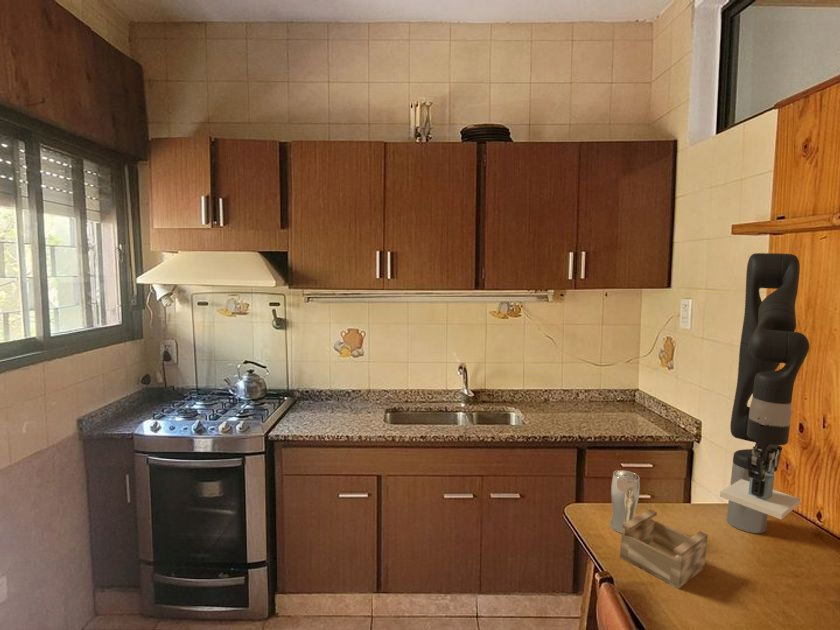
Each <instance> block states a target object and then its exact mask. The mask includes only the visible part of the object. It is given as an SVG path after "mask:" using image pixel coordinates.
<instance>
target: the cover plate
mask: <svg viewBox="0 0 840 630" xmlns="http://www.w3.org/2000/svg"><path fill="white" fill-rule="evenodd" d="M756 474H758V472H756ZM752 481H753V478H750V482H749V481H746V480H743V479H740V480H739V481H737V482H735V483H734V484H732V485H731V486H730V485H729V486H728V487H726V488H724V489H723V490H721V491H720V493H719V497H720V498H722V499H725V500H728V501H729V500H730V501H733V502H736V503H738V504H741V505H744V506H746V507H749V508H752V509H754V510H757V511H760V512H762V513H765V514H768V516H771V517H774V518H776V519H779V520H783V519H784V518H785V517H787V516H788V515H789V514H790V513H792V511H793V510H795V509H796V508H797V507H798V506H799V505H800V504H801V498H799V497H798V496H797V497H796V496H793V495H791V494H787V493H784V492H781V491H779V490H776V489H774V484H775V482H774V481H775V474H774V475H773V474H769V473H767V475H766V481H765V488H764V495H763V496H762V497H758V496H756V495H753V494H752V493H751V490H752Z"/></svg>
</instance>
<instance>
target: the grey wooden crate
mask: <svg viewBox="0 0 840 630" xmlns="http://www.w3.org/2000/svg"><path fill="white" fill-rule="evenodd" d="M657 514H658V513H657V511H654V510H652V509H648V510H646V511H644V512H643V513H641V514H639V515H637V516H636V517H635V516H634V518H633V519H632V520H630V521H628V522H626V523H624V524H623V525H622V533H621V539H620V551H619V558H621V559H622V558H623V560H625V561H626V562H628V563H630V564H632V565H633V566H636V567H638V568H640V569H641V570H644V571H645V572H646V573H648V574H650V575H652V576H655V578H658V579H659V580H661V581H663V582H665V583H667V584H668V585H670V586H673V587H674V588H676V589H680V588H681V587H683V586H684V585H685V584H687V582H688V581H690V580H692V578H695V576H696V575H698V574H699V573H701V571H703V570H704V569H705V565H706V557H707V555H706V554H707V547H708V537H709V536H708V535H709V534H707V533H705V532H702V531H698V532H696V533H695V534H694V535H692V536H689V535H687V534H684V533H683V532H680V531H679V530H676V529H674V528H672V527H670V526H668V525H665V524H663V523H660V522H659V521H656V520H654V519H653V518H654V517H656V516H657Z"/></svg>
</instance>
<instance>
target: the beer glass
mask: <svg viewBox="0 0 840 630" xmlns="http://www.w3.org/2000/svg"><path fill="white" fill-rule="evenodd" d="M640 488H641V487H640V476H639V475H638V474H637V473H634V472H632V471H630V470H624V469H623V470H621V469H616V470H614V471H613V473H612V479H611V487H610V498H611V506H612V516H611V520H610V522H609V527H610V526H611V527H610V528H611V530H613V529H614V530H615V532H616V531H617V533H619V532H620V533H619V534H622V525H623V524H624V523H626V522H628V521H630V520H632V519H633V518H635V513H636V510H637V506H638V502H639V498H640ZM614 530H613V531H614Z"/></svg>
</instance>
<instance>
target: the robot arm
mask: <svg viewBox="0 0 840 630" xmlns="http://www.w3.org/2000/svg"><path fill="white" fill-rule="evenodd" d="M800 266H801V265H800V261H799V258H798V256H797V255H795V254H792V253H776V252H775V253H772V252H771V253H770V252H768V253H765V252H763V253H762V252H759V253H757V252H755V253H752V254H751V255H750V256H749V258H748V262H747V266H746V277H745V297H744V298H745V300H744V303H745V305H744V314H743V323H742V329H741V330H742V331H741V337H740V342H739V343H740V344H739V345H740V346H739V352H738V354H739V356H738V368H737V380H736V381H737V382H736V389H735V395H734V400H733V404H732V405H733V406H732V411H731V417H730V426H729V427H730V434H731V436H732V437H734V438H735V439H739V440H743V441H746V442H747V441H748V442H752V443H754V446H752V448H750V449H749V448H747V449H739V450H735V452H734V453H733V457H732V464H731V465H732V466H731V467H732V468H731V477H730V485H729V486H731V485H732V484H734V483H735V482H737V481H739V480H740V479H743V480H746V481H749V482H750V478H753V481H752V490H751V493H752V494H753V495H756V496H758V497H762V496H763V495H764V488H765V481H766V475H767V473H769V474H773V475H774V476H775V472H777V471H778V466H779V462H780V458H781V455H782V454H781V453H782V451H783V447H782V446H785V445H787V444H788V442H789V438H790V437H789V436H790V429H791V420H792V412H793V411H792V400H793V394H794V393H793V392H794V387H795V386H794V385H795V381H796V379H797V375H798V374H799V371H800V370H801V367H802V365H803V364H804V361H805V359H806V357H807V355H808V353H809V350H810V341H809V339H808V338H807V336H806V335H805V334H804V333H801V332H798V331H796V330H797V329H796V328H797V318H796V303H797V302H796V301H797V297H798V291H799V290H798V288H799V282H800V281H799V280H800V271H801V270H800V269H801V267H800ZM760 289H769V290H770V289H774V291H773V292H770V294H768V295H767V296H766V297H765V298H764V299H763V300H762V298H761V293H760ZM780 364H784V366H782V368H780V369H778V367H779V366H780ZM750 399H751V401H750V402H751V403H750V405H749V406H748V402H749V400H750ZM756 472H758V474H756ZM768 516H769V515H768V514H765V513H762V512H760V511H757V510H754V509H752V508H749V507H746V506H744V505H741V504H738V503H736V502H733V501H730V500H728V503H727V512H726V522H727V523H728V524H730V525H731V526H732V527H733V528H736V529H738V530H740V531H744V532H747V533H752V534H763V533H765V532H766V530H767V525H768Z"/></svg>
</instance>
